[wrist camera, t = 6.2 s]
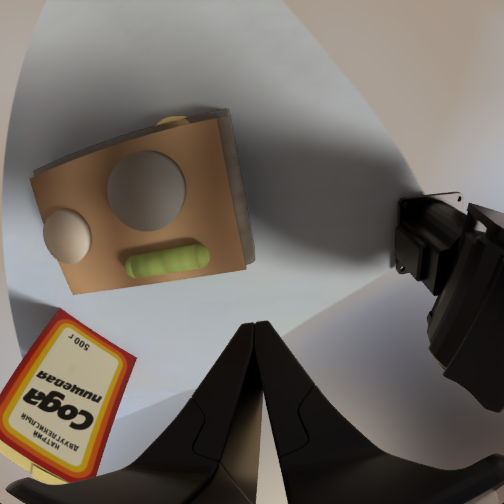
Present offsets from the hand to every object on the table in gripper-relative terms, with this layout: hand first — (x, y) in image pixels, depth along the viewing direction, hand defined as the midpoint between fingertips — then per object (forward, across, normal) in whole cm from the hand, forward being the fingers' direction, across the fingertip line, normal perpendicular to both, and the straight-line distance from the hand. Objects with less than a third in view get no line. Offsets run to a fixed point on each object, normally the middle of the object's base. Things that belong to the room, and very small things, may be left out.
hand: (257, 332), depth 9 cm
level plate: (+10, +7, -2) cm, 13 cm away
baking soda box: (+13, +20, +12) cm, 27 cm away
